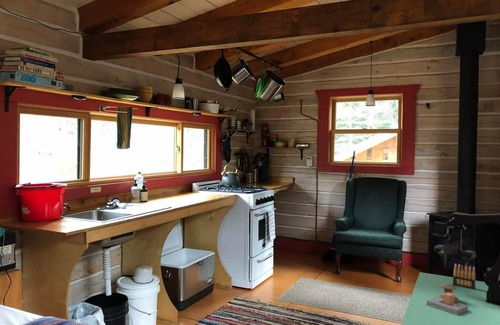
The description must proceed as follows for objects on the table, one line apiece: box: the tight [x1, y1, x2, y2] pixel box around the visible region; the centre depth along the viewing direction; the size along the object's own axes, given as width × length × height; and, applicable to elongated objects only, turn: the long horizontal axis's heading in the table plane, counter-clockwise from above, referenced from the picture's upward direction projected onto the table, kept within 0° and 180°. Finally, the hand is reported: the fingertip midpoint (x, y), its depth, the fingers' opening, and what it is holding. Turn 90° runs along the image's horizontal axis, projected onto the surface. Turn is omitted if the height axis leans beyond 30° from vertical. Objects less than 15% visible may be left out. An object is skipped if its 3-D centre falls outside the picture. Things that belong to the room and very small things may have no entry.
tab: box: [443, 292, 455, 306], centre depth 190 cm, size 3×4×6 cm
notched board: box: [426, 296, 469, 316], centre depth 189 cm, size 14×10×2 cm
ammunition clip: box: [452, 263, 476, 290], centre depth 220 cm, size 11×2×12 cm, turn 52°
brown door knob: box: [437, 283, 459, 304], centre depth 199 cm, size 9×9×6 cm
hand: (453, 268), depth 208 cm, fingers open, 9 cm apart
